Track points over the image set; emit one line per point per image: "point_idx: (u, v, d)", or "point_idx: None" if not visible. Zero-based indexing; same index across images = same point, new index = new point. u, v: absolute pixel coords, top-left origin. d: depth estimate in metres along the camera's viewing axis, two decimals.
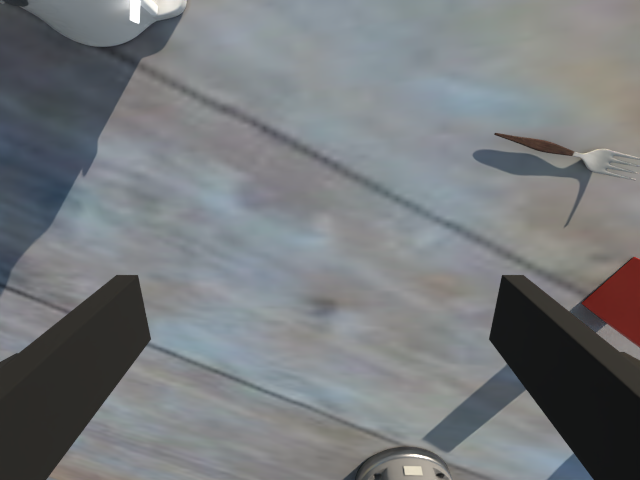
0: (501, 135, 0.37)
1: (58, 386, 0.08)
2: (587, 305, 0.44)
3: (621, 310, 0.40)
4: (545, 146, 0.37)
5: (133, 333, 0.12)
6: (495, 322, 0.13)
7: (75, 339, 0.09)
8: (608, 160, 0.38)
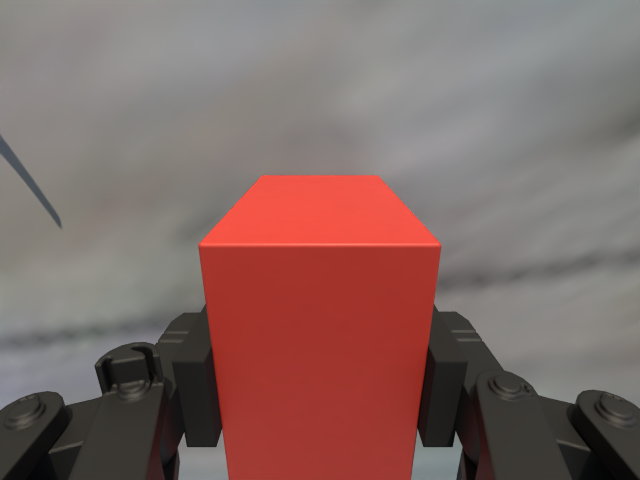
0: None
1: None
2: None
3: None
4: None
5: None
6: None
7: None
8: None
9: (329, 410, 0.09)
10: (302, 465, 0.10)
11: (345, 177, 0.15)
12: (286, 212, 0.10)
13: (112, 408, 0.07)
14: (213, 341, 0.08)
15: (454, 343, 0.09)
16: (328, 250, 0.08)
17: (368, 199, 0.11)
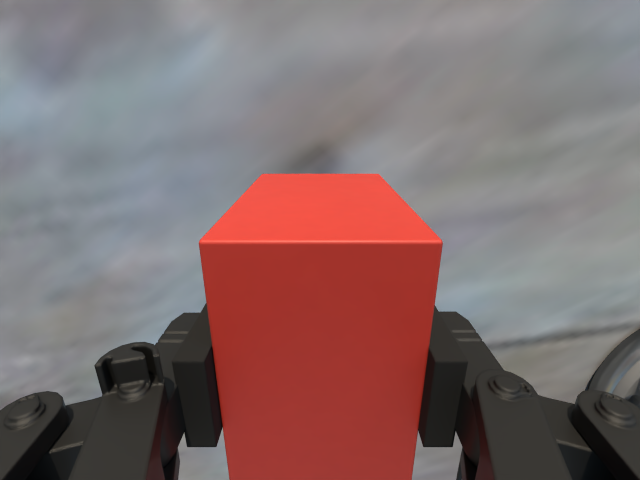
0: None
1: None
2: None
3: None
4: None
5: None
6: None
7: None
8: None
9: (330, 408, 0.09)
10: (303, 463, 0.10)
11: (346, 175, 0.15)
12: (287, 209, 0.10)
13: (112, 408, 0.07)
14: (214, 339, 0.08)
15: (455, 343, 0.09)
16: (329, 247, 0.08)
17: (369, 197, 0.11)
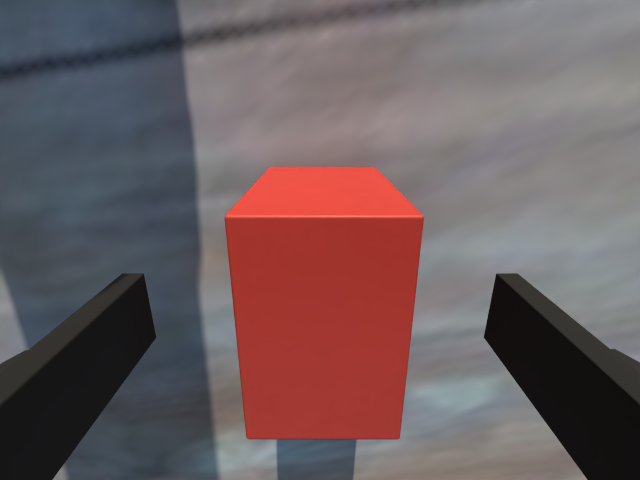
0: None
1: (67, 383, 0.09)
2: None
3: None
4: None
5: (139, 331, 0.12)
6: (489, 320, 0.13)
7: (83, 336, 0.09)
8: None
9: (331, 361, 0.11)
10: (308, 410, 0.12)
11: (345, 168, 0.17)
12: (294, 194, 0.12)
13: None
14: (235, 299, 0.10)
15: None
16: (331, 221, 0.09)
17: (365, 185, 0.13)
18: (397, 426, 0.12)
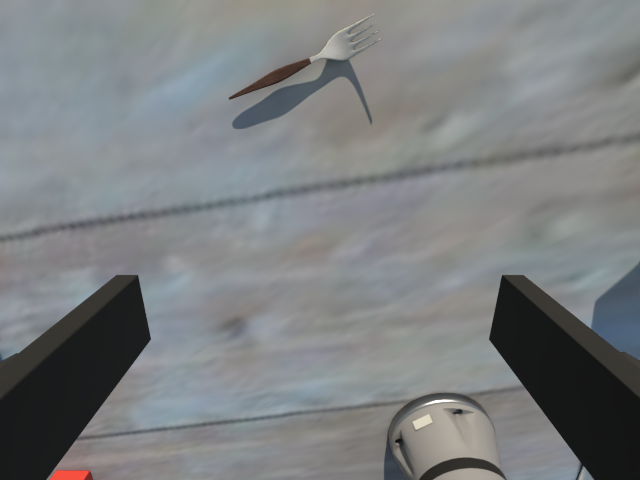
0: (234, 96, 0.35)
1: (58, 386, 0.08)
2: None
3: None
4: (279, 74, 0.35)
5: (133, 333, 0.12)
6: (495, 322, 0.13)
7: (75, 339, 0.09)
8: (348, 40, 0.34)
9: None
10: None
11: (77, 474, 0.55)
12: None
13: None
14: None
15: None
16: None
17: None
18: None
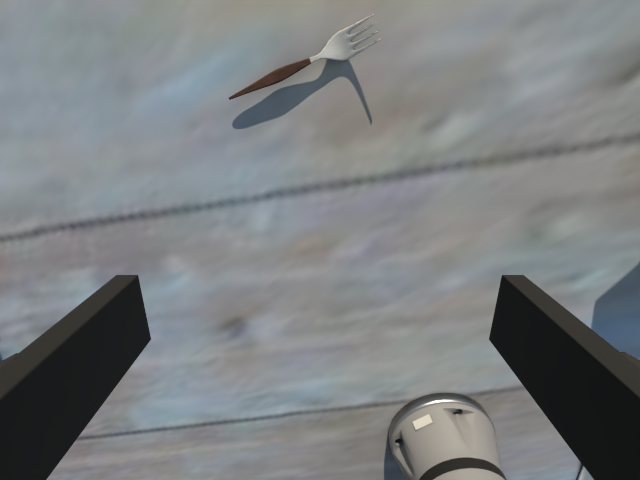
0: (234, 96, 0.35)
1: (58, 386, 0.08)
2: None
3: None
4: (279, 74, 0.35)
5: (133, 333, 0.12)
6: (495, 322, 0.13)
7: (75, 339, 0.09)
8: (348, 40, 0.34)
9: None
10: None
11: None
12: None
13: None
14: None
15: None
16: None
17: None
18: None
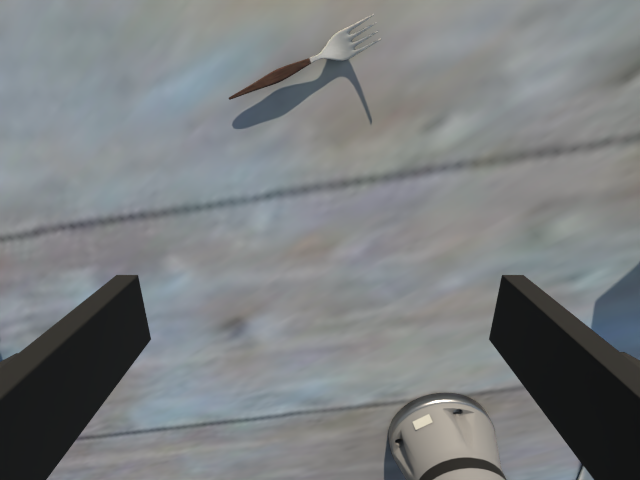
0: (234, 96, 0.35)
1: (58, 386, 0.08)
2: None
3: None
4: (279, 74, 0.35)
5: (133, 333, 0.12)
6: (495, 322, 0.13)
7: (75, 339, 0.09)
8: (348, 40, 0.34)
9: None
10: None
11: None
12: None
13: None
14: None
15: None
16: None
17: None
18: None
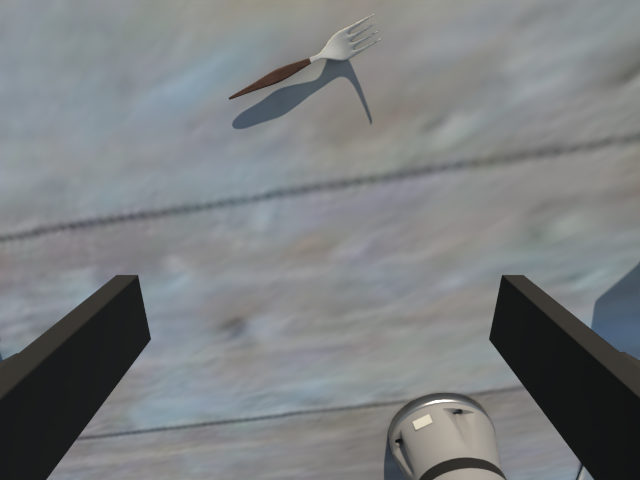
0: (234, 96, 0.35)
1: (58, 386, 0.08)
2: None
3: None
4: (279, 74, 0.35)
5: (133, 333, 0.12)
6: (495, 322, 0.13)
7: (75, 339, 0.09)
8: (348, 40, 0.34)
9: None
10: None
11: None
12: None
13: None
14: None
15: None
16: None
17: None
18: None
